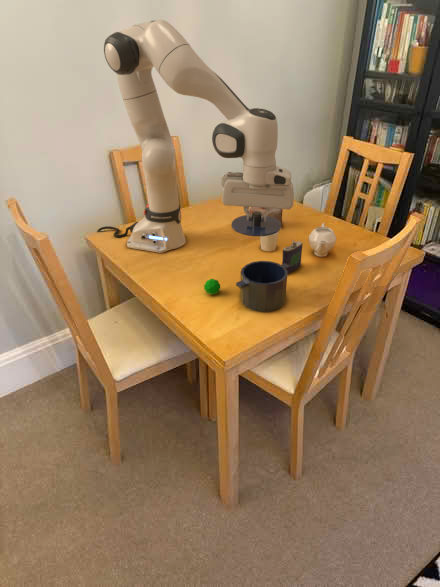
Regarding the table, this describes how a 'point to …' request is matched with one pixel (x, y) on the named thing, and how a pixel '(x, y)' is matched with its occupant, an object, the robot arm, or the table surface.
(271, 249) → the tan cup
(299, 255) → the flask
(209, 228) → the table surface
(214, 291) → the polyhedron
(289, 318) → the table surface
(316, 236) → the teapot
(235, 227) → the pot lid
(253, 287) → the pot
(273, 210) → the food item
